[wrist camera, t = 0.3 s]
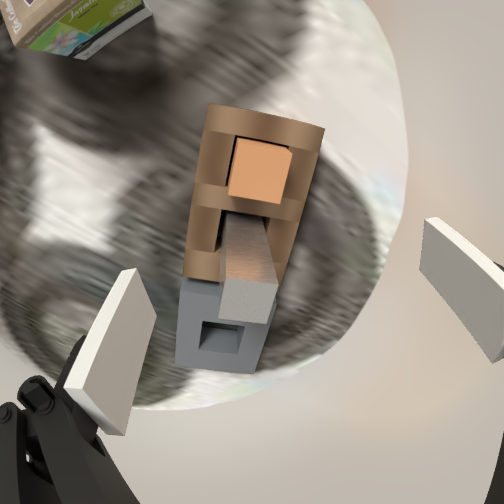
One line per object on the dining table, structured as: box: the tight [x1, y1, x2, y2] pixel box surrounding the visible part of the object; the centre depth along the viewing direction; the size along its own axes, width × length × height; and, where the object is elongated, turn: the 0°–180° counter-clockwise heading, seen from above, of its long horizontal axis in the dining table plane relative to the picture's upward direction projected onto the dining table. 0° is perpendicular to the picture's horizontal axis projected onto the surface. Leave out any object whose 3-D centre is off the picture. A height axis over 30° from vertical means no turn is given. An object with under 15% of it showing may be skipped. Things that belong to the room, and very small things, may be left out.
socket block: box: [182, 103, 325, 290], centre depth 34 cm, size 12×20×4 cm, turn 168°
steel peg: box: [218, 210, 279, 324], centre depth 31 cm, size 4×4×16 cm
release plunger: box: [228, 136, 292, 204], centre depth 29 cm, size 5×5×5 cm
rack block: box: [175, 276, 277, 374], centre depth 42 cm, size 12×14×5 cm
